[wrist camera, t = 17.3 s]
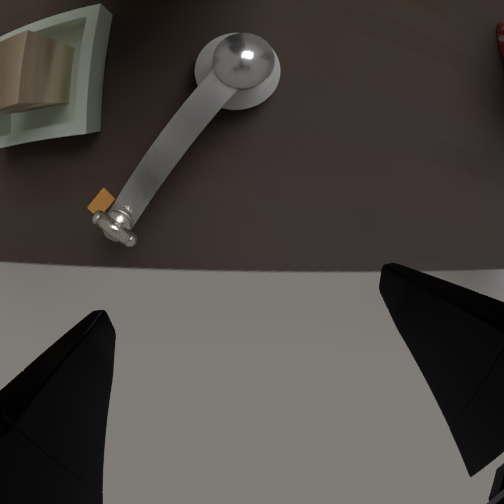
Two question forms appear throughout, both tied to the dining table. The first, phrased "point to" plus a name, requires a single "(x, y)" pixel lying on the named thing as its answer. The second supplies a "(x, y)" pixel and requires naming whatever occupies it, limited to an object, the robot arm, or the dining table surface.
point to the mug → (501, 37)
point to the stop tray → (82, 79)
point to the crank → (187, 128)
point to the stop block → (34, 72)
